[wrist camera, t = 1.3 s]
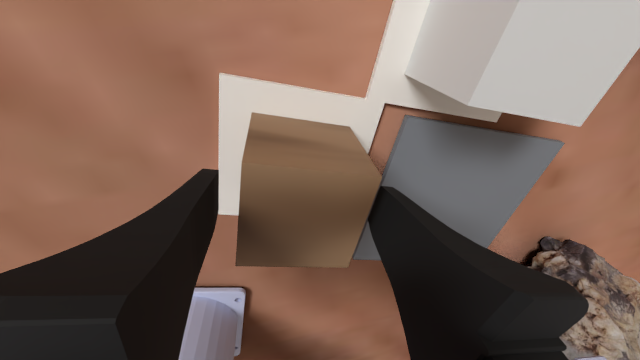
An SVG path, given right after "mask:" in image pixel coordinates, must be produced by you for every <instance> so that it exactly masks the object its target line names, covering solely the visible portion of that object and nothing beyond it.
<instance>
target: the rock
mask: <svg viewBox="0 0 640 360" xmlns="http://www.w3.org/2000/svg"><path fill="white" fill-rule="evenodd" d="M540 244H541V246H542V250H543V252H539V253H537V255H536V256H535V257H533V261H532V266H531V267H530V266H528V268H531V269H533V270H536V271H539V272H542V273H544V274H547V275H550V276H552V277H555V278H558V279H561V280H563V281H566V282H567V283H569V284H570V285H572V286H573V287H574V288H575V289H576V290H577V291H578V292H579V293H581V294H582V295H583V296H584V297H585V298H586V299H587V300H588V303H589V308H588V311H587V313H586V314H585V316H584V317H583V318H582V319H581V320H580V321H578V322H577V323H576V324H575V325H574V326H572V327H571V328H570V329H569V330H567V331H566V332H565V333H564V334H562V335H561V336H560V337H559V338H560V339H561V340H562V341H563V342H564V344H565V345H566V347H567V349H566V350H565V351H562V352H563V353H564V354H565V356H566V357H567V358H568V359H569V360H572V359H575V358H579V357H588V356H604V357H605V358H606V359H607V360H640V349H639V346H638V343H637V340H638V333H639V331H640V283H639V282H637V281H636V280H635V279H633V278H631V277H628V276H624V275H623V274H622V273H620V272H619V271H618V270H617V269H615V268H614V267H613V266H611V265H610V264H609V263H607V262H606V261H605V258H603V257H601V256H599V255H597V254H596V253H595V252H594V251H593V250H592V249H590V248H589V247H587V246H585V245H582V244H579V243H577V242H574V241H572V240H565V241H563V242H562V243H561V242H560V241H558V240H556V239H553V238H551V237H544V238H543V239H542V241H541V243H540Z"/></svg>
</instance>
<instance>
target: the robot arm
mask: <svg viewBox="0 0 640 360" xmlns="http://www.w3.org/2000/svg"><path fill="white" fill-rule="evenodd" d="M218 210H219V170H211V169H202V170H200V171H199V172H198V173H197V174H196V175H194V176H193V177H192V178H191V179H190V180H188V181H187V182H186V183H185V184H184V185H182V186H181V187H180V188H179V189H177V190H176V191H175V192H173V193H172V194H171V195H170V196H168V197H167V198H165V199H164V200H163V201H161V202H160V203H158V204H157V205H155V206H154V207H153V208H151V209H149V210H148V211H146V212H145V213H143V214H141V215H139V216H138V217H136V218H134V219H132V220H131V221H129V222H127V223H125V224H123V225H121V226H119V227H117V228H115V229H113V230H111V231H109V232H107V233H105V234H103V235H101V236H98V237H96V238H94V239H92V240H90V241H87V242H85V243H83V244H80V245H78V246H76V247H73V248H71V249H68V250H66V251H63V252H60V253H58V254H55V255H53V256H50V257H47V258H45V259H42V260H39V261H36V262H33V263H30V264H27V265H24V266H21V267H18V268H15V269H12V270H9V271H6V272H3V273H0V360H234V356H237V355H239V354H240V349H241V338H242V327H243V317H244V306H245V295H246V291H245V289H243V288H195V285H196V282H197V279H198V275H199V273H200V270H201V267H202V264H203V261H204V258H205V255H206V253H207V250H208V247H209V244H210V241H211V238H212V235H213V232H214V229H215V224H216V220H217V215H218ZM368 223H369V227H370V231H371V235H372V238H373V241H374V243H375V246H376V248H377V251H378V253H379V256H380V258H381V260H382V263H383V265H384V268H385V270H386V273H387V275H388V277H389V280H390V283H391V285H392V288H393V291H394V295H395V298H396V302H397V305H398V308H399V312H400V316H401V320H402V324H403V328H404V332H405V336H406V340H407V345H408V349H409V354H410V359H411V360H569V359H568V358H567V357H566V356H565V354H564V353H563V352H562V351H565V350H566V349H567V347H566V345H565V344H564V342H563V341H562V340H561V339H560V338H559V337H560V336H561V335H562V334H564V333H565V332H566V331H567V330H569V329H570V328H571V327H572V326H574V325H575V324H576V323H577V322H578V321H580V320H581V319H582V318H583V317H584V316H585V314H586V313H587V311H588V308H589V303H588V300H587V299H586V298H585V297H584V296H583V295H582V294H581V293H579V292H578V291H577V290H576V289H575V288H574V287H573V286H572V285H570V284H569V283H567V282H566V281H563V280H561V279H558V278H555V277H552V276H550V275H547V274H544V273H542V272H539V271H536V270H533V269H531V268H528V267H526V266H524V265H521V264H519V263H517V262H514V261H512V260H510V259H507V258H505V257H503V256H501V255H499V254H497V253H495V252H493V251H491V250H489V249H487V248H485V247H483V246H481V245H479V244H477V243H475V242H473V241H472V240H470V239H468V238H466V237H465V236H463V235H461V234H460V233H458V232H456V231H455V230H453V229H451V228H450V227H448V226H447V225H445V224H444V223H442V222H441V221H440V220H438V219H437V218H435V217H434V216H432V215H431V214H430V213H428V212H427V211H425V210H424V209H423V208H421V207H420V206H419V205H417V204H416V203H415V202H413V201H412V200H411V199H409V198H408V197H407V196H405V195H404V194H403V193H401V192H400V191H398V190H397V189H395V188H393V187H388V186H380V188H379V191H378V194H377V196H376V199H375V201H374V204H373V206H372V209H371V212H370V214H369V217H368ZM572 360H607V359H606V358H605V357H604V356H588V357H579V358H575V359H572Z"/></svg>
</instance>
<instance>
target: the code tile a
mask: <svg viewBox="0 0 640 360" xmlns="http://www.w3.org/2000/svg"><path fill="white" fill-rule="evenodd" d="M384 104H385V103H382V102H377V101H371V100H366V99H365V98H362V97H356V96H350V95H345V94H339V93H333V92H328V91H322V90H316V89H311V88H305V87H299V86H294V85H288V84H282V83H277V82H271V81H265V80H260V79H254V78H248V77H243V76H237V75H231V74H226V73H220V74H219V210H218V214H223V215H239V199H240V182H241V164H242V158H243V153H244V148H245V143H246V139H247V134H248V129H249V124H250V119H251V114H252V112H254V113H260V114H267V115H274V116H281V117H287V118H294V119H301V120H308V121H315V122H321V123H328V124H335V125H342V126H349V127H350V128H351V129H352V131H353V132H354V134H355V136H356V137H357V139H358V140H359V142H360V143H361V145H362V146H363V148H364V149H365V151H366V152H367V154H368V153H369V150H370V147H371V144H372V141H373V138H374V135H375V132H376V128H377V125H378V122H379V119H380V116H381V113H382V110H383V107H384Z"/></svg>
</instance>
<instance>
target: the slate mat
mask: <svg viewBox="0 0 640 360" xmlns="http://www.w3.org/2000/svg"><path fill="white" fill-rule="evenodd" d="M564 144H565V143H563V142H561V141H559V140H553V139H547V138H541V137H535V136H529V135H523V134H517V133H511V132H505V131H499V130H493V129H487V128H481V127H475V126H469V125H463V124H457V123H451V122H445V121H439V120H433V119H427V118H421V117H415V116H409V115H405V117H404V119H403V122H402V125H401V127H400V130H399V132H398V135H397V138H396V140H395V143H394V146H393V148H392V151H391V154H390V156H389V159H388V162H387V164H386V167H385V169H384V172H383V175H382V179H381V182H380V185H379V187H378V190H377V193H376V195H375V198H374V200H373V203H372V206H373V204H374V201H375V199H376V196H377V194H378V191H379V188H380V186H388V187H393V188H395V189H397V190H398V191H400V192H401V193H403V194H404V195H405V196H407V197H408V198H409V199H411V200H412V201H413V202H415V203H416V204H417V205H419V206H420V207H421V208H423V209H424V210H425V211H427V212H428V213H430V214H431V215H432V216H434V217H435V218H437V219H438V220H440V221H441V222H442V223H444V224H445V225H447V226H448V227H450V228H451V229H453V230H455V231H456V232H458V233H460V234H461V235H463V236H465V237H466V238H468V239H470V240H472V241H473V242H475V243H477V244H479V245H481V246H483V247H485V248H488V246H489V245H490V244H491V242H492V241H493V240H494V238H495V237H496V235H497V234H498V233H499V231H500V230H501V229H502V227H503V226H504V225H505V223H506V222H507V221H508V219H509V218H510V217H511V215H512V214H513V212H514V211H515V210H516V208H517V207H518V206H519V204H520V203H521V202H522V200H523V199H524V198H525V196H526V195H527V194H528V192H529V191H530V189H531V188H532V187H533V185H534V184H535V183H536V181H537V180H538V179H539V177H540V176H541V175H542V173H543V172H544V171H545V169H546V168H547V166H548V165H549V164H550V162H551V161H552V160H553V158H554V157H555V156H556V154H557V153H558V152H559V150H560V149H561V148H562V146H563V145H564ZM372 206H371V208H370V211H369V214H370V212H371V209H372ZM369 214H368V216H367V219H366V221H365V224H364V227H363V229H362V232H361V235H360V237H359V240H358V243H357V245H356V248H355V250H354V253H353V256H352V257H353V259H354V260H381V258H380V256H379V253H378V251H377V248H376V246H375V243H374V241H373V238H372V235H371V231H370V227H369V223H368V217H369Z"/></svg>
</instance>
